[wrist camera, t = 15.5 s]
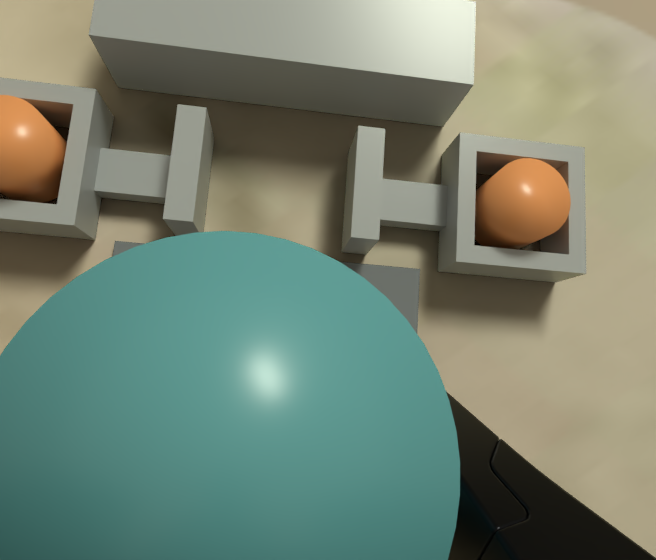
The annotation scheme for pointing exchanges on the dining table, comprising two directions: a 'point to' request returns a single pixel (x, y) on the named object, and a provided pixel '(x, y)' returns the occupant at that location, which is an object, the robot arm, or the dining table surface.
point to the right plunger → (521, 204)
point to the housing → (297, 93)
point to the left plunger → (28, 153)
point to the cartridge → (224, 413)
